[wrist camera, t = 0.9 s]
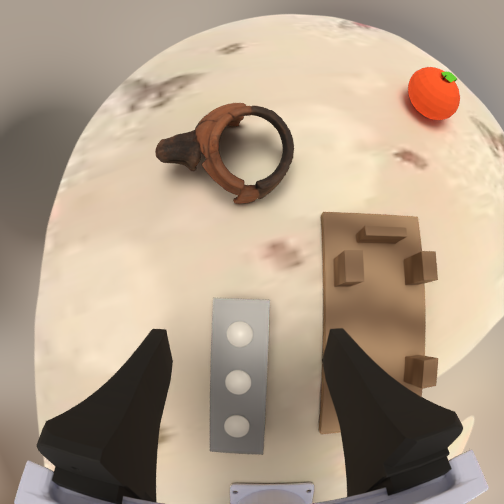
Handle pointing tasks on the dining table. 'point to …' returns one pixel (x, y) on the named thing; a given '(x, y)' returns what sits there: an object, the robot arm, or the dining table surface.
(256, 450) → the power strip
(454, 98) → the clementine
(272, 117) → the brown open ring
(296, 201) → the dining table surface
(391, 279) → the rack
